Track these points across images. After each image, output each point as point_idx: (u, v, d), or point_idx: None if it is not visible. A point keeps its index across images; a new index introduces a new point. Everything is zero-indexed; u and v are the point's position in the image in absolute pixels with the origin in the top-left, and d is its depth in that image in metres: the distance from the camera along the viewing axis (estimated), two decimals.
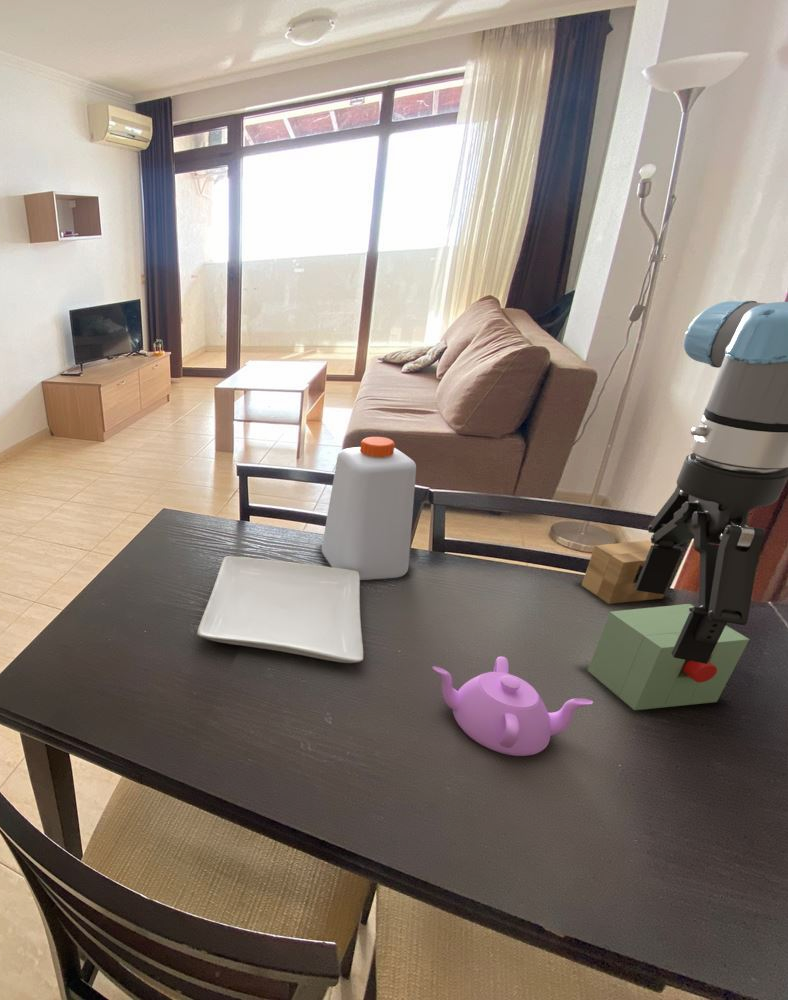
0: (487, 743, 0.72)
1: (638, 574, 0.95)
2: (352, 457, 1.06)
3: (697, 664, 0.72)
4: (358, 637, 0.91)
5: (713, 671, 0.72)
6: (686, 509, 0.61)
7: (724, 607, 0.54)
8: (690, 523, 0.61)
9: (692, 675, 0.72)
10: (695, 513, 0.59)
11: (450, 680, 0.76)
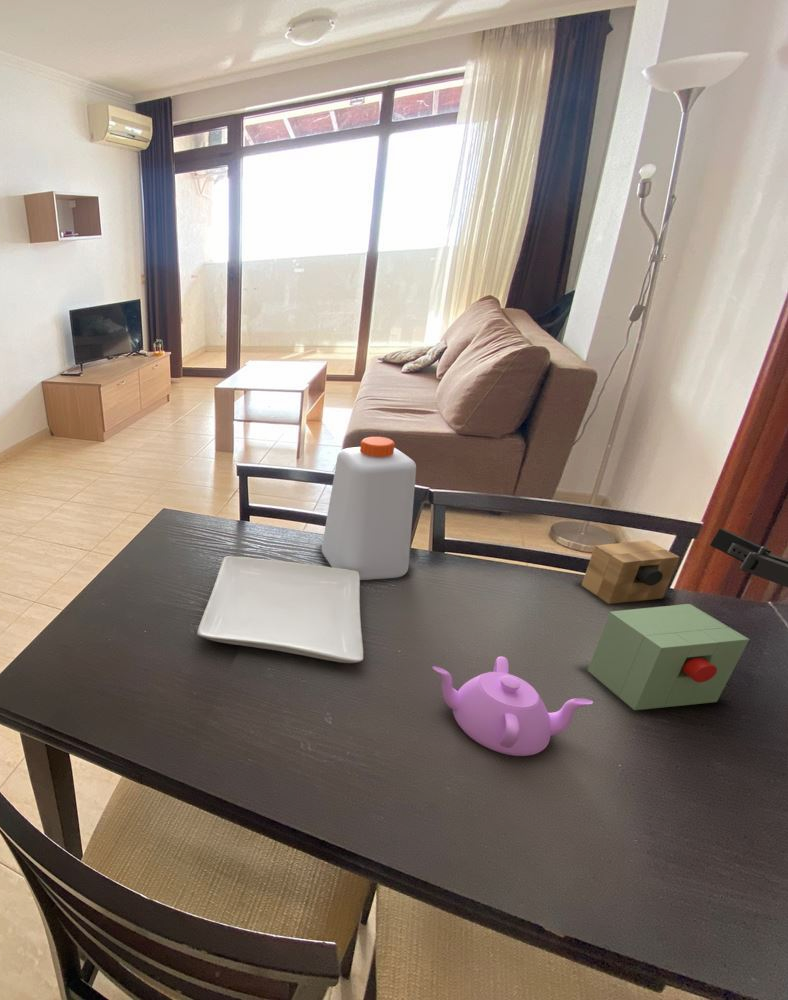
0: (487, 743, 0.72)
1: (638, 574, 0.95)
2: (352, 457, 1.06)
3: (697, 664, 0.72)
4: (358, 637, 0.91)
5: (713, 671, 0.72)
6: None
7: None
8: None
9: (692, 675, 0.72)
10: None
11: (450, 680, 0.76)
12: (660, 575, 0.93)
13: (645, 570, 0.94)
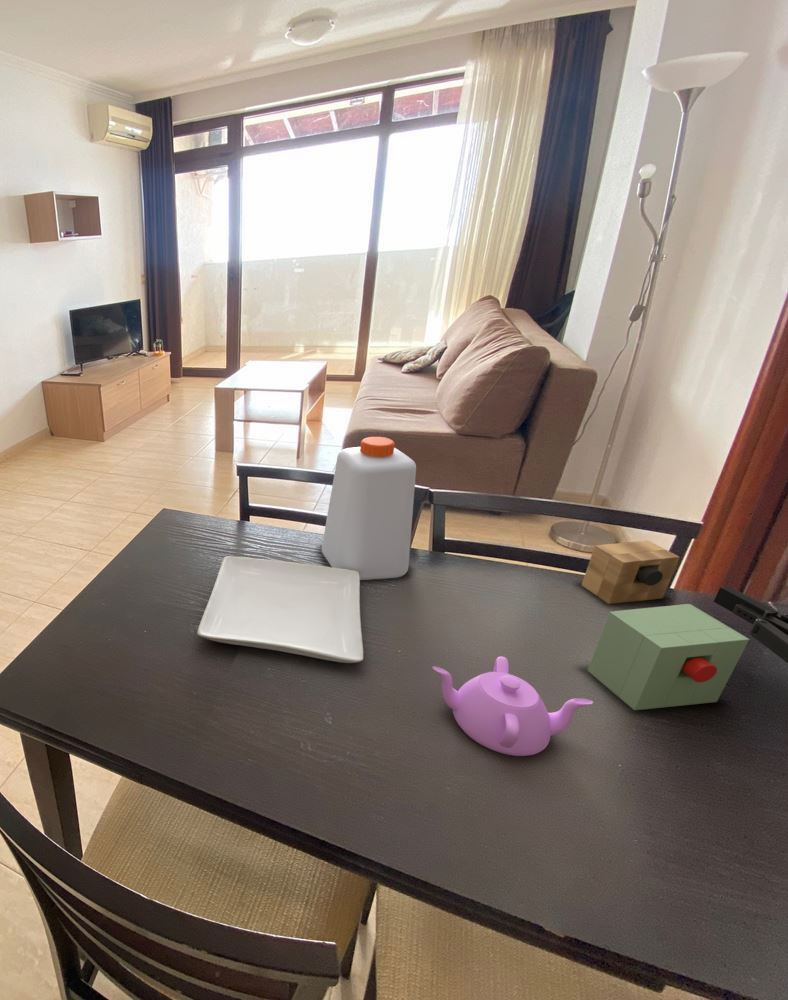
0: (487, 743, 0.72)
1: (638, 574, 0.95)
2: (352, 457, 1.06)
3: (697, 664, 0.72)
4: (358, 637, 0.91)
5: (713, 671, 0.72)
6: None
7: None
8: None
9: (692, 675, 0.72)
10: None
11: (450, 680, 0.76)
12: (660, 575, 0.93)
13: (645, 570, 0.94)
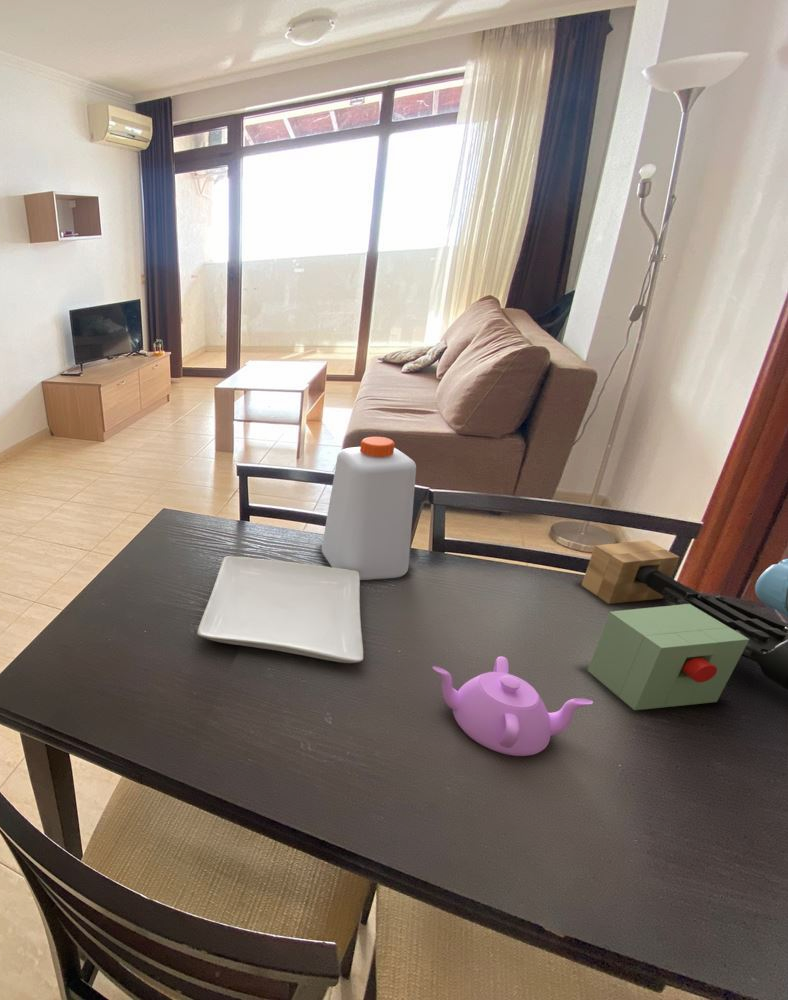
0: (487, 743, 0.72)
1: (637, 573, 0.95)
2: (352, 457, 1.06)
3: (697, 664, 0.72)
4: (358, 637, 0.91)
5: (713, 671, 0.72)
6: None
7: None
8: None
9: (692, 675, 0.72)
10: None
11: (450, 680, 0.76)
12: None
13: (644, 569, 0.94)
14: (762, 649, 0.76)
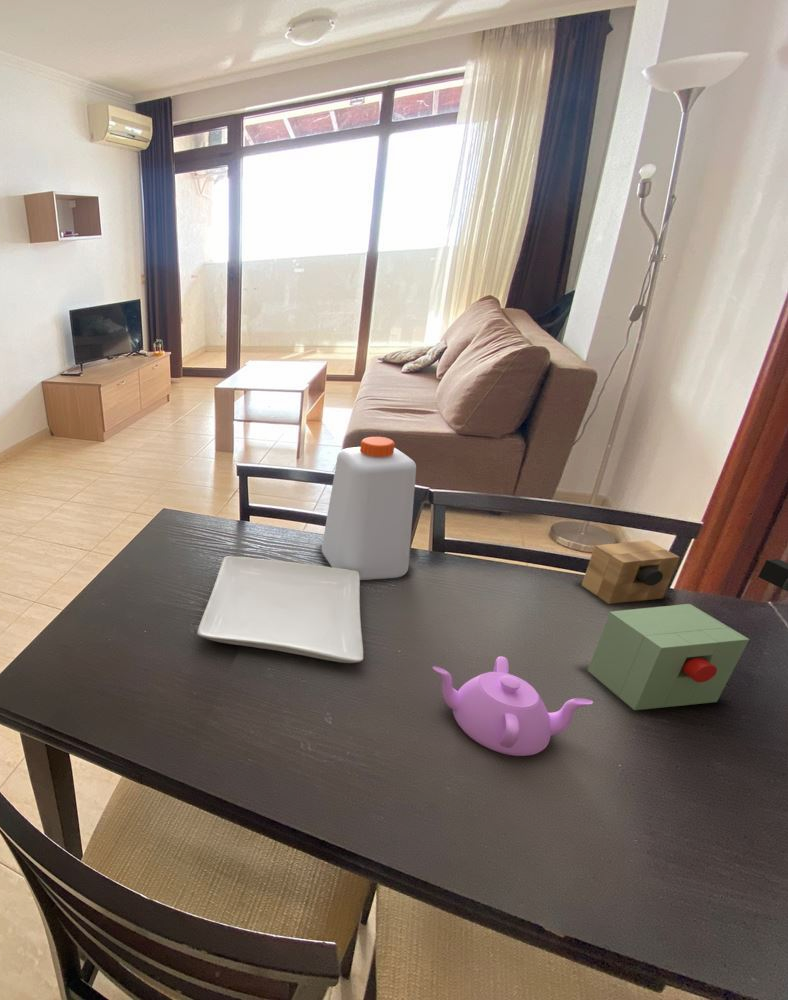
0: (487, 743, 0.72)
1: (638, 574, 0.95)
2: (352, 457, 1.06)
3: (697, 664, 0.72)
4: (358, 637, 0.91)
5: (713, 671, 0.72)
6: None
7: None
8: None
9: (692, 675, 0.72)
10: None
11: (450, 680, 0.76)
12: (660, 575, 0.93)
13: (646, 570, 0.94)
14: None
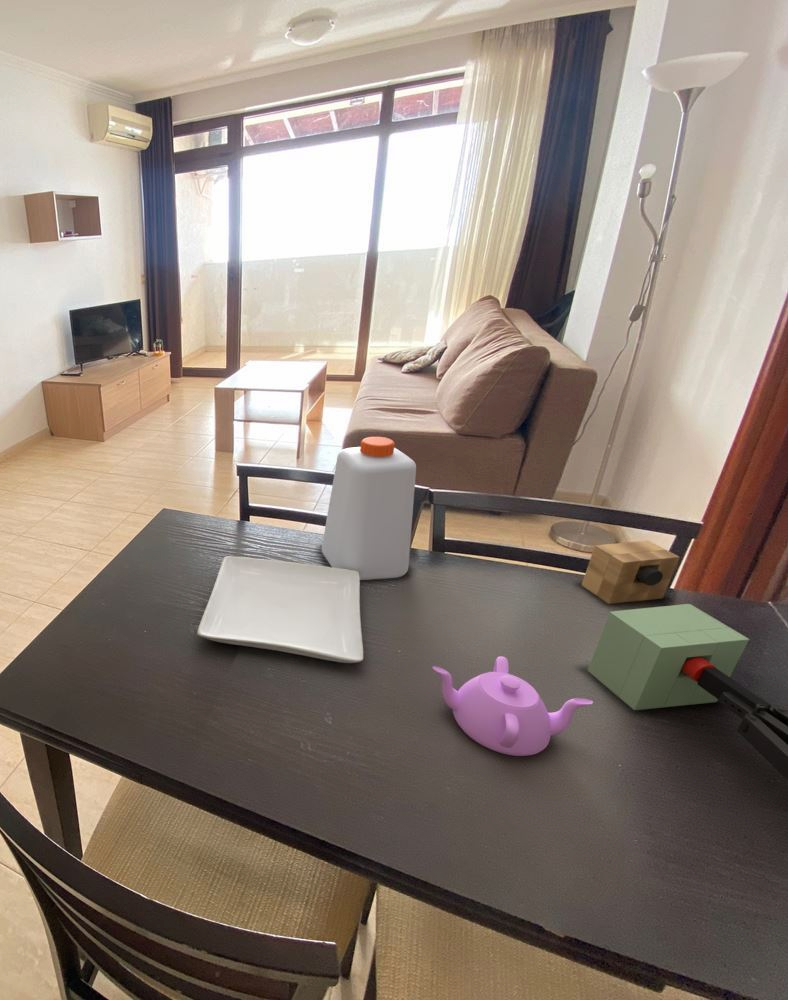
0: (487, 743, 0.72)
1: (638, 574, 0.95)
2: (352, 457, 1.06)
3: (697, 663, 0.72)
4: (358, 637, 0.91)
5: None
6: None
7: None
8: None
9: (692, 675, 0.72)
10: None
11: (450, 680, 0.76)
12: (660, 575, 0.93)
13: (646, 570, 0.94)
14: None
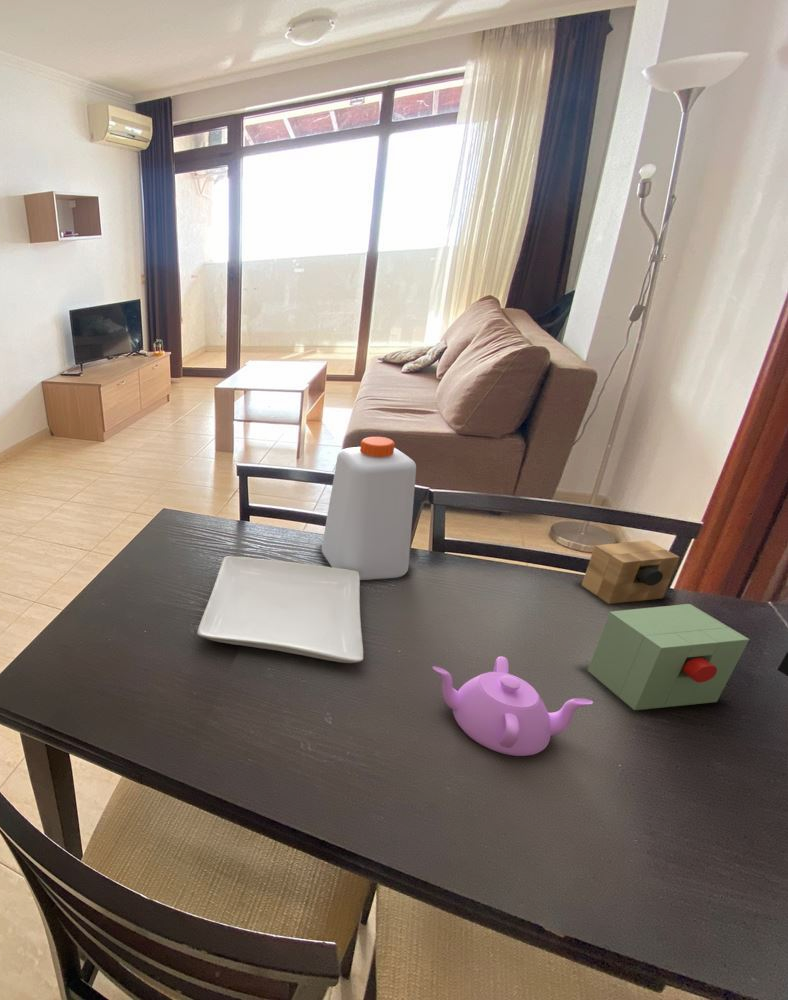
0: (487, 743, 0.72)
1: (638, 574, 0.95)
2: (352, 457, 1.06)
3: (697, 664, 0.72)
4: (358, 637, 0.91)
5: (713, 671, 0.72)
6: None
7: None
8: None
9: (692, 675, 0.72)
10: None
11: (450, 680, 0.76)
12: (660, 575, 0.93)
13: (646, 570, 0.94)
14: None
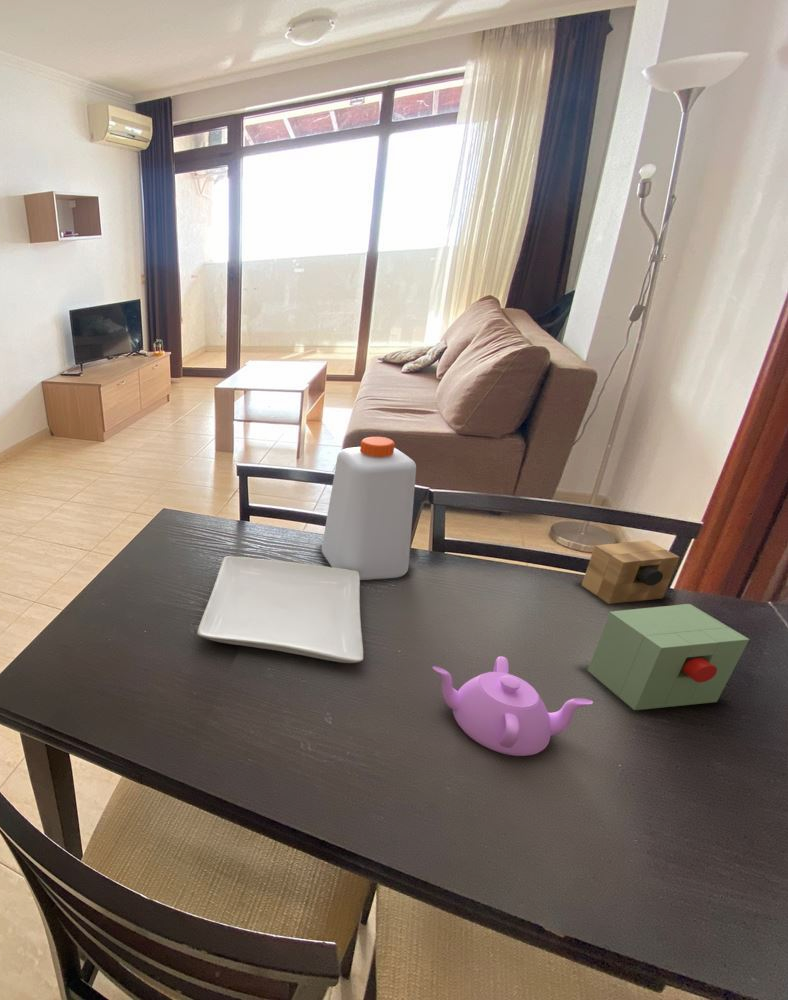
0: (487, 743, 0.72)
1: (638, 574, 0.95)
2: (352, 457, 1.06)
3: (697, 664, 0.72)
4: (358, 637, 0.91)
5: (713, 671, 0.72)
6: None
7: None
8: None
9: (692, 675, 0.72)
10: None
11: (450, 680, 0.76)
12: (660, 575, 0.93)
13: (646, 570, 0.94)
14: None
